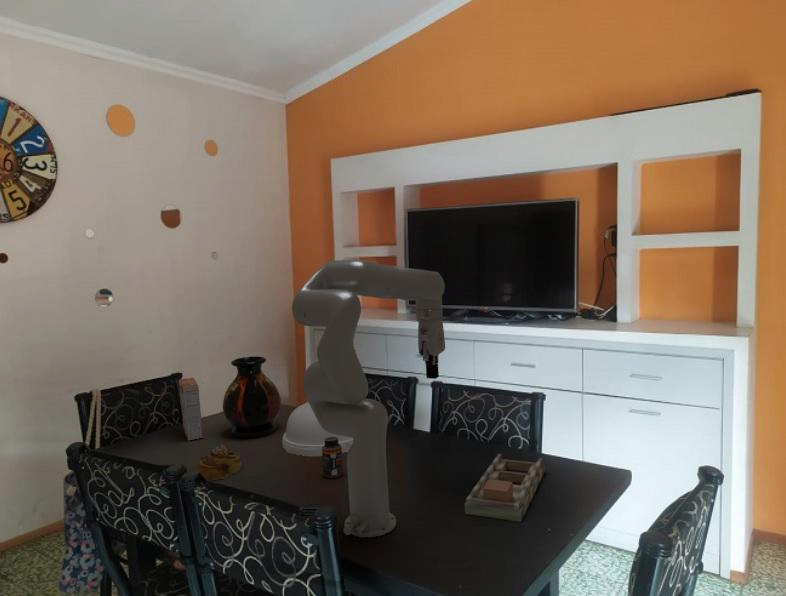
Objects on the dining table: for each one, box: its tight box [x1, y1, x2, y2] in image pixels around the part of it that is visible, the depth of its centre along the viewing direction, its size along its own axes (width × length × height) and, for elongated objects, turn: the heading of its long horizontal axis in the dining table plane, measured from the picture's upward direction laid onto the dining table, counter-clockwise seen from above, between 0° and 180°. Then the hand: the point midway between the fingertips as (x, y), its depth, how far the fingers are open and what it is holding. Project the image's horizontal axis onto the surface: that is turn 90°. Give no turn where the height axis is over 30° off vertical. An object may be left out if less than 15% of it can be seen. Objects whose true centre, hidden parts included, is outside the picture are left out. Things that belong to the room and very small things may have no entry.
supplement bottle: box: [321, 437, 344, 479], centre depth 176 cm, size 6×6×11 cm
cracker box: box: [178, 377, 204, 441], centre depth 222 cm, size 14×6×21 cm, turn 25°
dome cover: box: [281, 401, 354, 457], centre depth 208 cm, size 32×30×14 cm
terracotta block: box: [483, 479, 514, 503], centre depth 148 cm, size 6×6×4 cm
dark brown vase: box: [222, 355, 282, 439], centre depth 222 cm, size 22×22×28 cm
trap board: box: [464, 453, 546, 523], centre depth 159 cm, size 32×14×4 cm, turn 156°
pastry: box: [193, 444, 243, 482], centre depth 184 cm, size 13×15×8 cm
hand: (432, 377), depth 170 cm, fingers closed
